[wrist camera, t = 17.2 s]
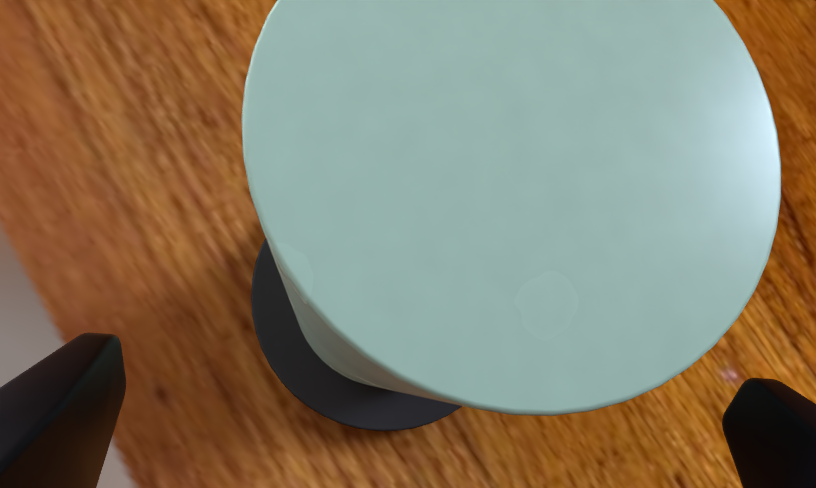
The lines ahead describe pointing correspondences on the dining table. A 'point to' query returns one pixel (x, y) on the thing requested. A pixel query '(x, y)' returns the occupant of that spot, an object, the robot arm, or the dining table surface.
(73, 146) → the dining table surface
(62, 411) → the robot arm
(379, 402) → the rubber mat
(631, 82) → the pale green cylinder
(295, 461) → the dining table surface
